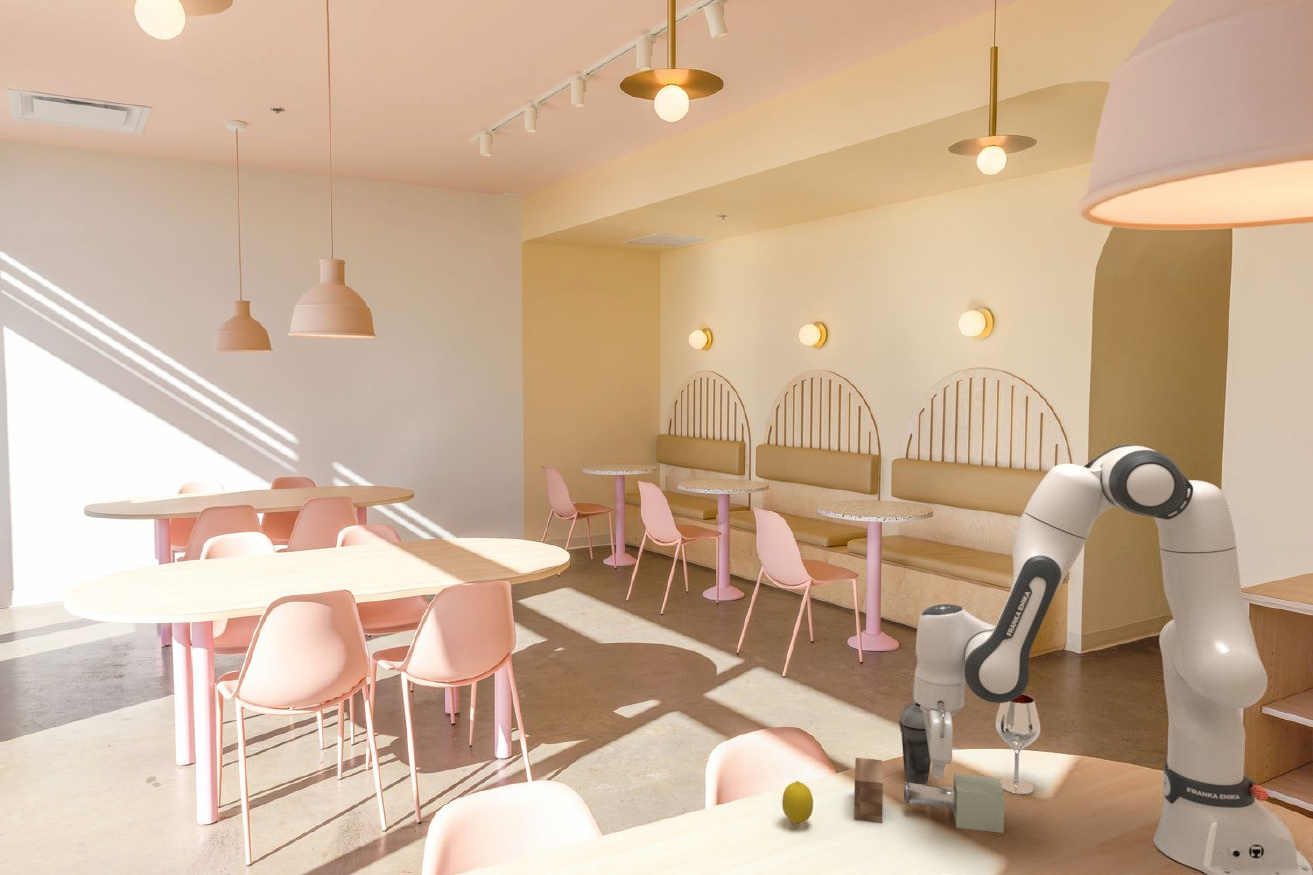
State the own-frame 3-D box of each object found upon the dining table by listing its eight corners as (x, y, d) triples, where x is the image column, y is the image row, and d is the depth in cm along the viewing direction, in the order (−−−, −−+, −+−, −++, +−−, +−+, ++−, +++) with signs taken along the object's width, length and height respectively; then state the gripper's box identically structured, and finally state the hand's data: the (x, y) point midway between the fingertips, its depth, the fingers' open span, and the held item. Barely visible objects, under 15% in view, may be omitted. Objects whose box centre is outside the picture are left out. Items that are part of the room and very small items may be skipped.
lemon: (818, 823, 160) (819, 780, 159) (801, 835, 156) (802, 791, 155) (793, 813, 164) (793, 771, 163) (775, 824, 160) (776, 781, 159)
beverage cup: (937, 788, 174) (939, 689, 172) (899, 785, 175) (900, 687, 174) (933, 772, 181) (935, 677, 179) (896, 769, 182) (898, 675, 181)
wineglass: (1045, 796, 170) (1048, 706, 169) (1003, 796, 170) (1005, 705, 169) (1028, 777, 178) (1030, 691, 177) (987, 777, 179) (990, 690, 177)
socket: (881, 797, 170) (882, 760, 169) (882, 823, 160) (882, 783, 160) (855, 794, 171) (855, 757, 171) (854, 819, 161) (854, 780, 161)
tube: (993, 807, 162) (994, 788, 162) (996, 817, 158) (997, 797, 158) (903, 797, 166) (904, 778, 166) (904, 806, 162) (904, 787, 162)
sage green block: (998, 814, 164) (999, 778, 163) (1003, 832, 157) (1004, 795, 156) (952, 809, 165) (953, 773, 165) (956, 827, 159) (957, 790, 158)
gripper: (962, 715, 150) (959, 793, 151) (952, 676, 170) (948, 745, 171) (924, 711, 152) (921, 789, 153) (918, 673, 172) (915, 742, 173)
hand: (935, 765), depth 162 cm, fingers open, 8 cm apart
